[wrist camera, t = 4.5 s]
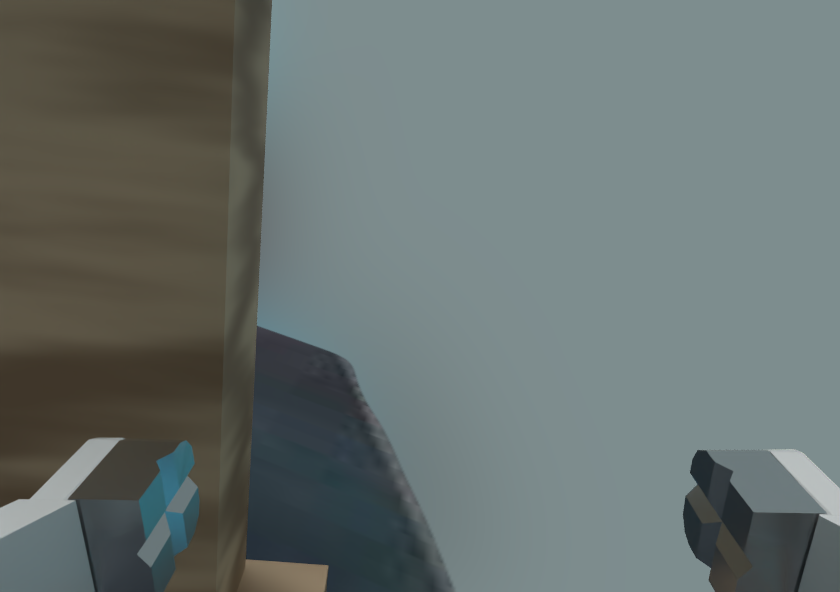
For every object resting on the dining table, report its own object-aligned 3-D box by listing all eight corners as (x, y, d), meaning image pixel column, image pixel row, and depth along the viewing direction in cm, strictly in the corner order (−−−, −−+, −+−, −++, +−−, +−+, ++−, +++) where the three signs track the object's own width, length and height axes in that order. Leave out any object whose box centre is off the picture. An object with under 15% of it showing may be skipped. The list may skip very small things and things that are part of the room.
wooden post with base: (302, 746, 21) (375, -122, 14) (-157, 721, 20) (-322, -225, 13) (325, 603, 27) (383, -43, 20) (-23, 578, 26) (-85, -108, 19)
